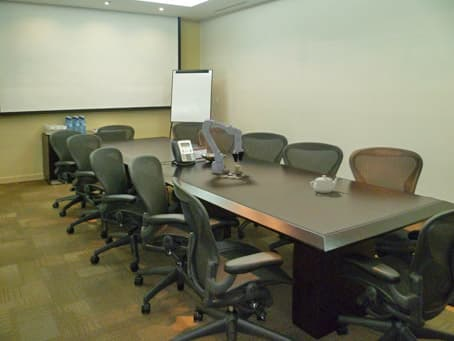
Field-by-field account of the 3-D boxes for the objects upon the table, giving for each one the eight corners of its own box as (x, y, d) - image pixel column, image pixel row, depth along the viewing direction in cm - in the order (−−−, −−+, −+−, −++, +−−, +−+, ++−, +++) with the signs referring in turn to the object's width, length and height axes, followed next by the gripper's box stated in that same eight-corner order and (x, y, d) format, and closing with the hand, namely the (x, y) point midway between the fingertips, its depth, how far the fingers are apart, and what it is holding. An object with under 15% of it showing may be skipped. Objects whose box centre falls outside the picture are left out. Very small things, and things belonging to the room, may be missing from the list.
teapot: (316, 195, 257) (316, 178, 255) (304, 190, 270) (305, 174, 268) (344, 192, 265) (345, 175, 263) (332, 187, 278) (333, 172, 275)
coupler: (234, 173, 326) (234, 165, 325) (237, 172, 329) (237, 165, 328) (239, 173, 324) (239, 166, 322) (241, 172, 327) (241, 165, 326)
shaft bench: (218, 177, 312) (218, 170, 310) (227, 173, 323) (227, 167, 322) (237, 179, 303) (237, 172, 302) (246, 176, 315) (246, 169, 314)
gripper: (238, 146, 314) (238, 163, 316) (246, 143, 326) (246, 160, 329) (230, 145, 317) (230, 162, 320) (239, 143, 329) (239, 159, 332)
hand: (238, 161), depth 324 cm, fingers open, 7 cm apart
